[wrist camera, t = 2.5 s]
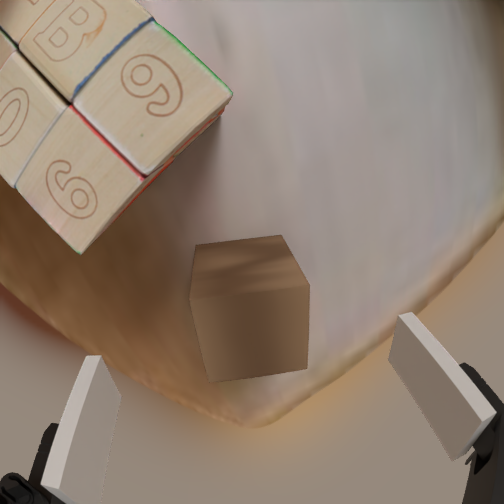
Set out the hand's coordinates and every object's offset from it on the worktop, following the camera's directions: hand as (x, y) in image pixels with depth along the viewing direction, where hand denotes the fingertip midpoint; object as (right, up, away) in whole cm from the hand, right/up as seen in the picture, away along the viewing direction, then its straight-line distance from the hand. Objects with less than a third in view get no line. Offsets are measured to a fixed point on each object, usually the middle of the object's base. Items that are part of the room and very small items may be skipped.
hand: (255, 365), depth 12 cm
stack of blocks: (-11, +17, 0) cm, 20 cm away
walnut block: (-1, +3, +7) cm, 7 cm away
